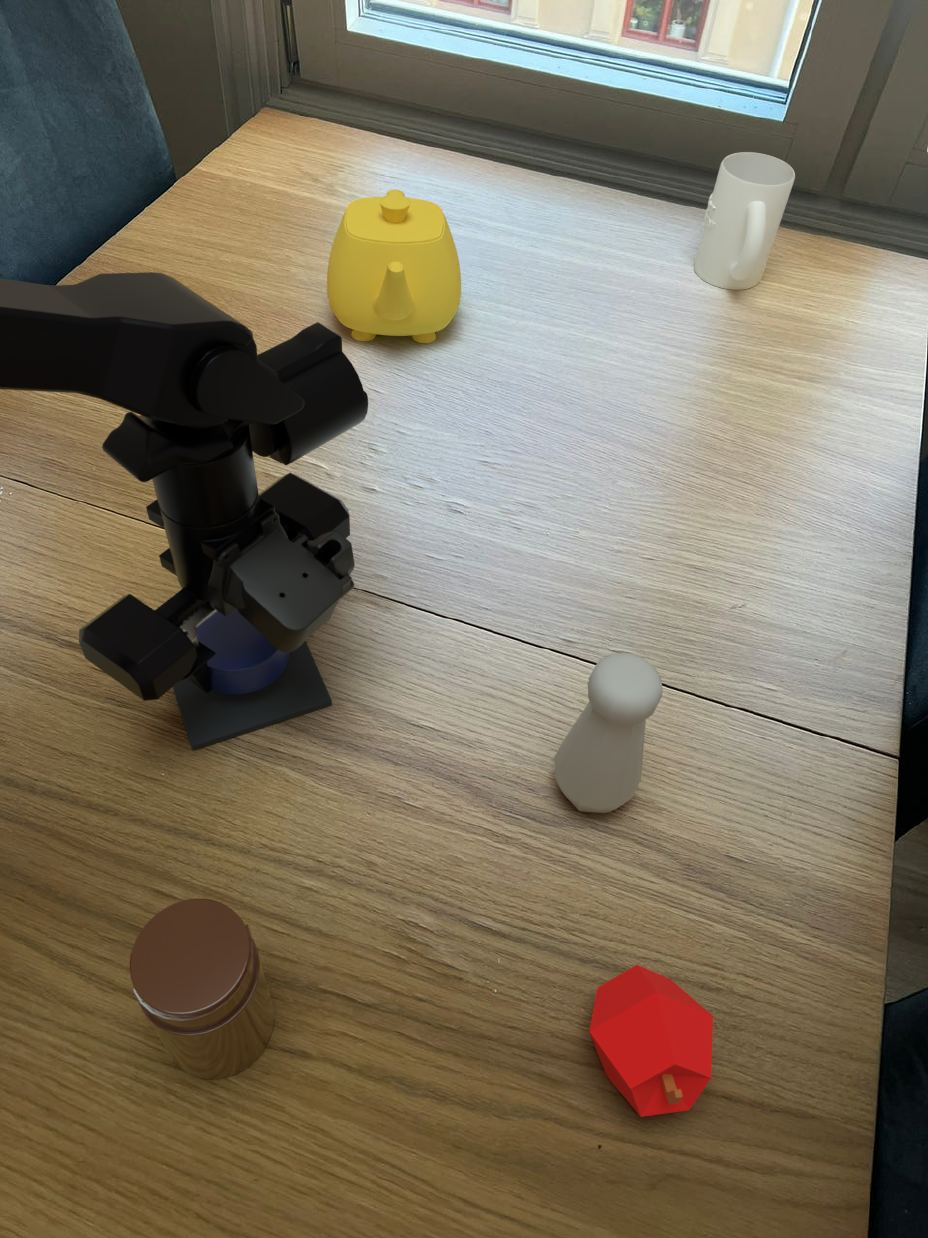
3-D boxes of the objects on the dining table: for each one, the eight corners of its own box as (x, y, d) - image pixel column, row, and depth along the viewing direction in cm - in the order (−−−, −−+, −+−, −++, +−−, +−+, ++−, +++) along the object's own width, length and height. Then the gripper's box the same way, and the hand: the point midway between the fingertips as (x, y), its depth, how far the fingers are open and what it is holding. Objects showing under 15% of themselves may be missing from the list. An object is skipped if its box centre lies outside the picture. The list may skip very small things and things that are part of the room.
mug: (698, 305, 104) (728, 199, 95) (688, 251, 112) (715, 148, 103) (771, 312, 104) (808, 207, 95) (756, 257, 112) (789, 155, 103)
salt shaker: (534, 765, 65) (561, 650, 55) (607, 740, 66) (646, 624, 56) (573, 837, 61) (610, 729, 51) (648, 809, 63) (698, 698, 53)
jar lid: (272, 607, 69) (269, 582, 67) (304, 675, 65) (301, 651, 63) (179, 635, 67) (173, 610, 65) (206, 708, 63) (200, 683, 61)
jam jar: (179, 1099, 50) (140, 1041, 42) (154, 993, 53) (113, 921, 45) (288, 1051, 52) (270, 987, 44) (256, 952, 55) (234, 876, 47)
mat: (193, 751, 64) (191, 746, 63) (159, 644, 69) (157, 639, 69) (332, 705, 67) (332, 700, 66) (289, 606, 72) (288, 601, 72)
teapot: (456, 277, 105) (463, 161, 95) (463, 385, 92) (472, 265, 82) (332, 272, 104) (327, 155, 94) (322, 381, 91) (314, 259, 81)
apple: (587, 934, 52) (630, 1064, 45) (699, 939, 53) (757, 1065, 46) (555, 1018, 55) (590, 1152, 48) (661, 1020, 56) (711, 1150, 49)
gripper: (188, 662, 47) (229, 812, 58) (415, 470, 57) (410, 631, 69) (40, 560, 50) (107, 721, 62) (278, 397, 61) (296, 562, 72)
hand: (240, 656), depth 66 cm, fingers closed on jar lid, 7 cm apart
